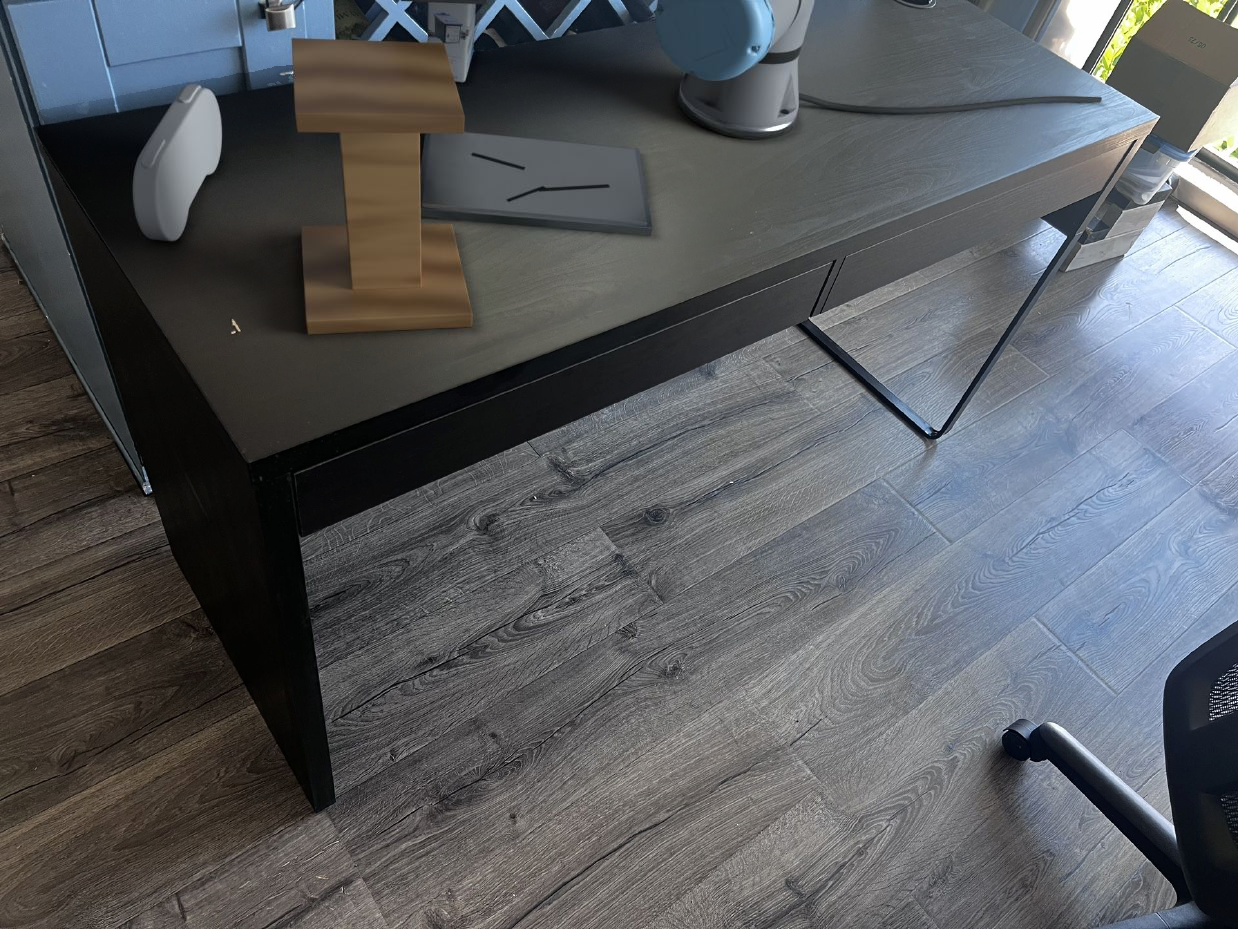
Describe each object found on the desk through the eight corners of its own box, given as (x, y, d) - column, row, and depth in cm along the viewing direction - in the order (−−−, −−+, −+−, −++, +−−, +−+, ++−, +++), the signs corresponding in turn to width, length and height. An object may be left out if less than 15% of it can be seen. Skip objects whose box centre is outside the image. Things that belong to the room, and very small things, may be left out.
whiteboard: (637, 156, 108) (639, 146, 108) (651, 236, 98) (653, 225, 97) (426, 136, 105) (426, 125, 104) (415, 216, 94) (415, 205, 93)
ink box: (436, 47, 120) (437, -52, 111) (476, 53, 120) (479, -45, 112) (426, 77, 114) (425, -25, 105) (467, 83, 114) (470, -17, 106)
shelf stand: (472, 327, 84) (479, 122, 70) (307, 334, 80) (280, 119, 66) (451, 236, 93) (454, 37, 78) (302, 239, 89) (277, 31, 75)
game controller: (204, 146, 97) (188, 67, 91) (227, 149, 97) (213, 70, 91) (143, 256, 84) (120, 173, 78) (169, 259, 84) (149, 176, 78)
